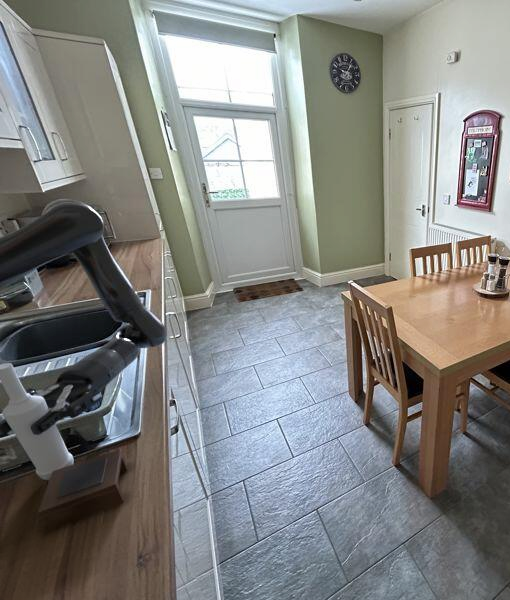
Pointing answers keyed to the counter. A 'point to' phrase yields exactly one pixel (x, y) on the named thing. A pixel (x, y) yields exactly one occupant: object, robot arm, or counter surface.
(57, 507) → the dark wooden pedestal
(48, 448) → the bottle
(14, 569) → the counter surface
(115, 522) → the counter surface
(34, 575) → the counter surface
